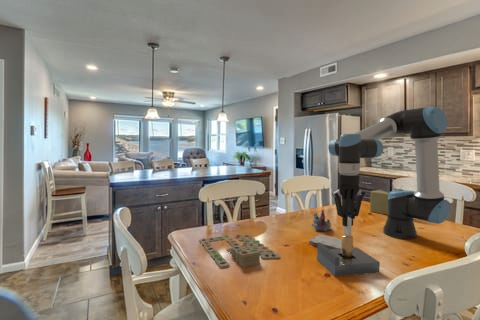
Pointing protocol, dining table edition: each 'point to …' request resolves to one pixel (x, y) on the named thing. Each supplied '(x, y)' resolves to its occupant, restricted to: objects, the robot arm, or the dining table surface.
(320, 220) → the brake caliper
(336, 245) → the washcloth
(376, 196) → the cheese
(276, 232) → the dining table surface
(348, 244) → the tan cylinder
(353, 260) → the jig
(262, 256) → the pile of dominoes
